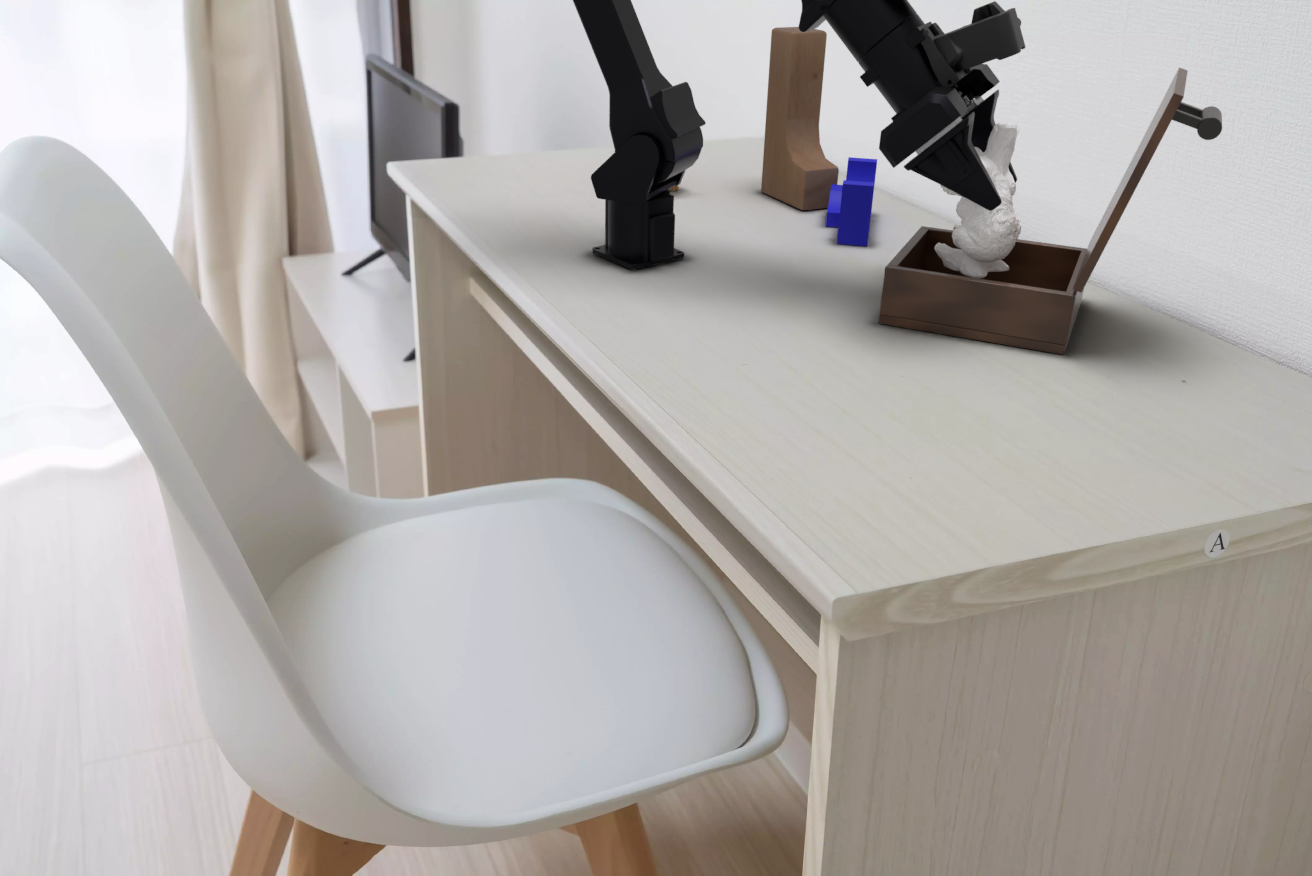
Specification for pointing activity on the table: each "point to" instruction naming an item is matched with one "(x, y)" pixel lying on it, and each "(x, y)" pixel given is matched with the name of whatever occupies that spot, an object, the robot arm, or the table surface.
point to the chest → (985, 294)
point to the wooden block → (796, 121)
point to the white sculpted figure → (986, 214)
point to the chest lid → (1169, 109)
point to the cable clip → (853, 202)
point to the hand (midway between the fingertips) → (1004, 195)
